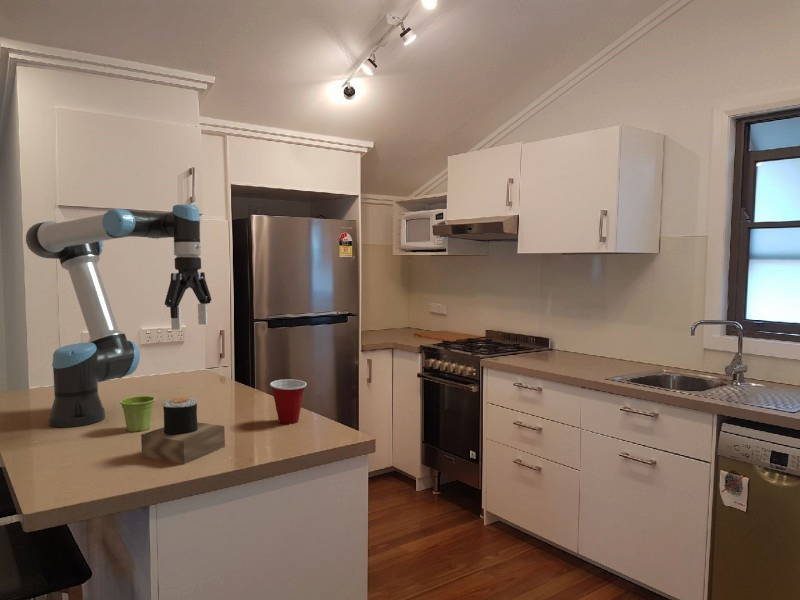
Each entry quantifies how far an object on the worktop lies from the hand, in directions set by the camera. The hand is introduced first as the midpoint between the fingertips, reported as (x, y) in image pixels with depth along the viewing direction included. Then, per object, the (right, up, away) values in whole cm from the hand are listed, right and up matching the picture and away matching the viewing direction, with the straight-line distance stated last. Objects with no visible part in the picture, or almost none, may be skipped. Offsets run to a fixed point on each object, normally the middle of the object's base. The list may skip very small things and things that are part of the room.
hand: (190, 326), depth 175 cm
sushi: (+8, -25, -29) cm, 39 cm away
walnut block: (+9, -31, -28) cm, 43 cm away
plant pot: (-12, -30, -7) cm, 33 cm away
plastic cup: (+30, -29, -2) cm, 42 cm away
